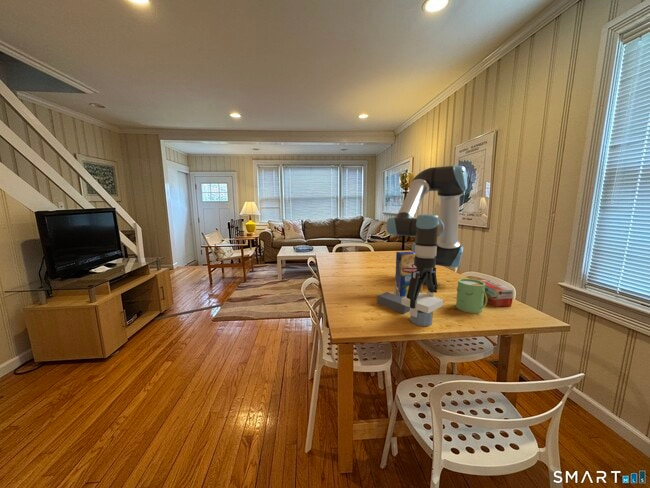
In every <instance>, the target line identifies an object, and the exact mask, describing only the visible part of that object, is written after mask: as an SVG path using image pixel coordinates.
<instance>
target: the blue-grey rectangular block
mask: <svg viewBox="0 0 650 488" xmlns="http://www.w3.org/2000/svg"><path fill="white" fill-rule="evenodd" d="M402 298H403V297H401V296H398V295H395V293H391V292H388V291H387V292H383V293H380V294H378V295H377V298H376V299H377V300H376V301H377V302H376V304H377V305H379V306H382V307H385V308H387V309H389V310H392V311H395V312H397V313H400V314H403V315H405V314H407V313H410V307H408V306H405V305H402V304H401V301H402Z"/></svg>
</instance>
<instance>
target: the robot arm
mask: <svg viewBox="0 0 650 488" xmlns="http://www.w3.org/2000/svg"><path fill="white" fill-rule="evenodd" d="M408 187H409V188H408V189H409V190H408V192H407V193H406V197H405V198H404V200H403V202H402V204H401V207H400V209H398V210H399V211H398V212H397V214H396V216H392V217H389V218H387V221H386V232H387V234H389V235H392V236H393V235H394V236H407V237H415V242H414V243H413V244H412V245H411V251H410V252H412V251H415V255H416V256H415V257H414V265H415V266H416V267H417V271H416V272H412V273H411V280H410V285H409V289H408V293H407V298H408V299H410V311H409V316H414V317H417V310H418V300H417V297H418V295H419V292H420V289H421V287H422V288H423V285H426V288H427V291H426V295H429V296H433V297H435V293H436V294H437V293H438V288H439V287H438V280H437V279H438V278H437V267H447V268H459V267H460V264H461V260H462V257H463V252H464V246H461V242H460V241H459V239H458V237H459V221H460V220H459V217H460V198H461V196H462V195H464V191H466V190H467V189H468V173H467V169H466V167H465V166H463V165H447V166H436V167H428V168H426V169H424V170H422V171H420V172H419V173H417V175H415V176H414V178H412V180H411V181H410V184H409V186H408ZM429 192H437V196H438V197H439V198H440V214H439V215H440V217H439V215H438V214H437V215H436V214H418V215H417V213H418V211H419V209H420V207H421V204H422V202H423V199H424V197H425V195H427V194H428V193H429ZM416 215H417V217H416ZM439 218H440V219H439ZM438 237H439V240H438ZM436 266H437V267H436Z"/></svg>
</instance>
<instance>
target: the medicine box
mask: <svg viewBox="0 0 650 488" xmlns="http://www.w3.org/2000/svg"><path fill="white" fill-rule="evenodd" d="M478 280H479V281H482V282H484V283H485V291H484V292H485V293H486V296H487V304H489V305H491V306H493V307H495V308H500V307H512V305H513V298H514V289H512V288H511V287H507V286H505V285H502V284H499V283H496V282H494V281H491V280H489V279H478ZM485 301H486V299H485V295H484V301H483V302H485Z"/></svg>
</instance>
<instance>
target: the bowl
mask: <svg viewBox="0 0 650 488" xmlns="http://www.w3.org/2000/svg"><path fill="white" fill-rule="evenodd" d="M433 315H434V311H432V312H430V313H425V312H422V311H419V310H417V317H414V316H411V315H409V316H410V317H409V320H410V322H411V323H412V324H414V325H415V326H420V327H429V326H431V325H432V324H433Z"/></svg>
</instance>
